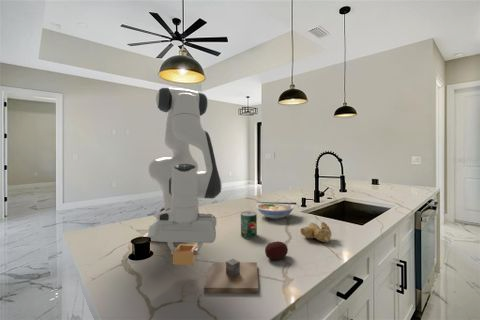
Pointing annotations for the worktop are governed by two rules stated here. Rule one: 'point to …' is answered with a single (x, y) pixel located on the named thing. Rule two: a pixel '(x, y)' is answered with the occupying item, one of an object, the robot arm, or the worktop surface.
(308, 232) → the ginger root
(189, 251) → the orange square tube
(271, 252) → the potato
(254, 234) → the canned tomato
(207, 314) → the worktop surface
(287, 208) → the ramen bowl
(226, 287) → the base plate
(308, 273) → the worktop surface
